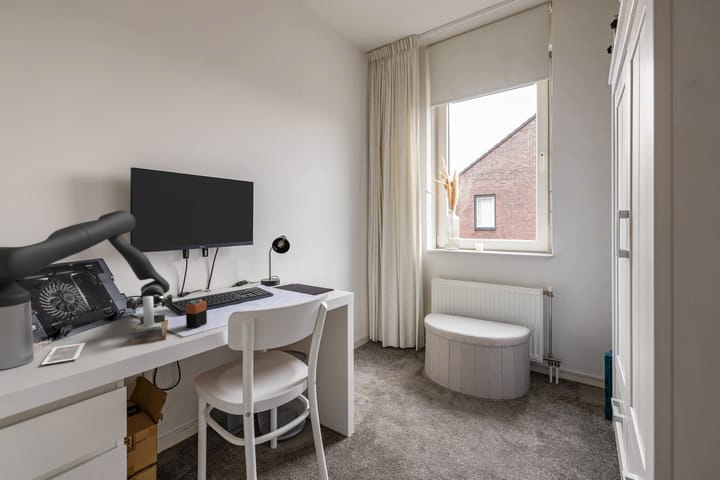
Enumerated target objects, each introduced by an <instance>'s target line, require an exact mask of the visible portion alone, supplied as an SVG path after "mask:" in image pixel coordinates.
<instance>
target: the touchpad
mask: <svg viewBox="0 0 720 480" xmlns="http://www.w3.org/2000/svg"><path fill="white" fill-rule="evenodd" d="M85 344H86V342H81V343H75V344H68V345H61V346H54V347H52V349H51V350H50V352H49V353H48V354H47V356H46V357H45V358H44V360H43V361H42V363H40V365H41V366H42V365H47V364H54V363H55V364H56V363H60V362H67V361H72V360H78V358H79V356H80V355H81V352H82V350H83V348H84V346H85Z"/></svg>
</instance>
